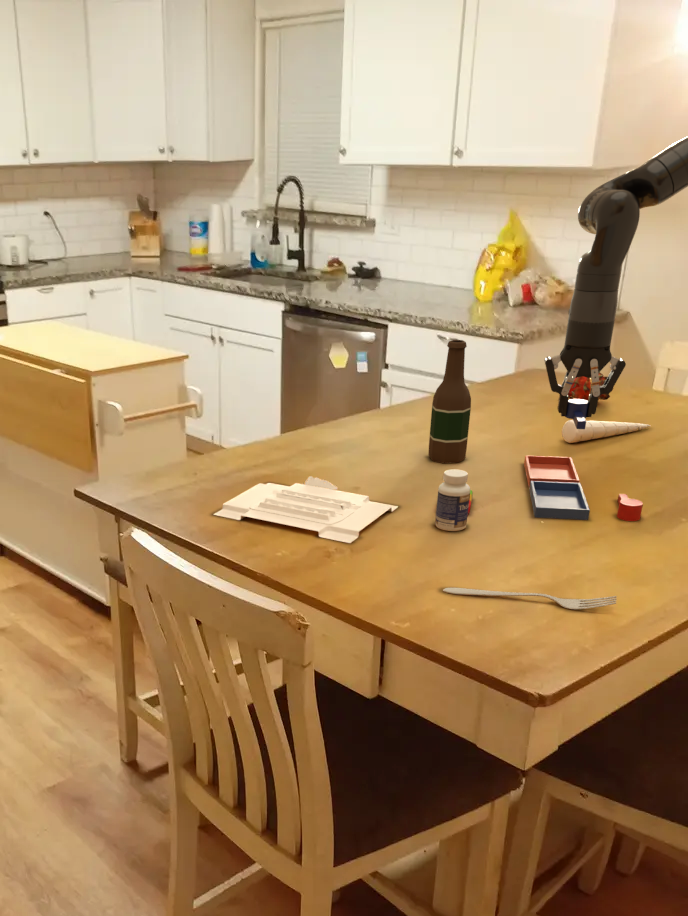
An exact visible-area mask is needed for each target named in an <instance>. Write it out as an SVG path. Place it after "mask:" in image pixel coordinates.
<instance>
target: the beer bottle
mask: <svg viewBox="0 0 688 916" xmlns="http://www.w3.org/2000/svg"><path fill="white" fill-rule="evenodd" d="M446 347H447V348H448V350H447V356H446V364H445V370H444V375H443V379H442V382H441V383H440V384H439V386H438V387H437V388H436V390H435V392H434V393H433V398H432V403H431V414H430V415H431V416H430V427H429V437H428V438H429V439H428V457H429V458H430V460H431V461H432V462H436V463H440V464H457V463H460V462H462V461H464V460H466V455H467V448H468V441H469V431H470V430H469V429H470V419H471V409H472V396H471V393H470V389H469V387H468V386H467V384H466V382H465V381H466V380H465V359H466V358H465V354H466V348H467V347H468V346H467V342H466V341H465V340H463V339H452V340H449V341H448V343H447V345H446Z"/></svg>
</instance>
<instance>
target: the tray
mask: <svg viewBox="0 0 688 916" xmlns="http://www.w3.org/2000/svg"><path fill="white" fill-rule="evenodd" d="M398 507H399V506H398V505H392V504H388V503H382V502H376V501H371V500H370V496H369V495H366V494H365V495H364V494H360V493H355V492H354V493H353V492H349V491H343V490H338V486H337V485H336V484H333V483H332V482H330V481H328V480H326V479H321V478H319V477H315V476H312V475H309V476H308V477H307V479H305V482H302V483H299V482H295V483H293V484H292V485H290V486H289V485H283V484H277V483H273V482H267V483H262V482H261V483H260V482H259V483H257V484H256V485H254V486H251V487H250V488H249V489H247V490H245V491H243V492H242V493H241V492H240V494H238V495H236V496H234V497H233V498H231V499H229V500H227V501H225V502H224V503H222V508H221V509H220V510H218V511H216V512H215V513H213V514H212V515H213V516H218V517H224V518H227V519H232V520H237V521H241V520H243V519H244V518H246V517H247V518H252V519H256V520H262V521H266V522H271V523H275V524H280V525H284V526H285V525H286V526H290V527H294V528H295V527H296V528H300V529H305V530H308V531H309V530H310V531H314V532H318V537H319V538H322V539H323V538H324V539H327V540H332V541H333V540H334V541H338V542H343V543H346V544H351V543H352V542H354V541H355V540H357V539H358V538H359V536H360V532H361V531H362V530H363V529H365V528H366V527H368V525H370V524H372V522H374V521H375V520H377V519H378V518H379V517H380V516H382V515H383V514H385V513H386V512H394V511H395V510H396V509H398Z"/></svg>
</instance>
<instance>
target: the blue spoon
mask: <svg viewBox="0 0 688 916" xmlns="http://www.w3.org/2000/svg"><path fill="white" fill-rule="evenodd" d="M588 407H589V401H588V400H584V399H575V398H574V399H568V405H567V411H566V416H564V417H565V418H567V419H569V420H573V421H574V424H575V426H576V429H585V426H586V421H587V418H588V417H587V413H588Z"/></svg>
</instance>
